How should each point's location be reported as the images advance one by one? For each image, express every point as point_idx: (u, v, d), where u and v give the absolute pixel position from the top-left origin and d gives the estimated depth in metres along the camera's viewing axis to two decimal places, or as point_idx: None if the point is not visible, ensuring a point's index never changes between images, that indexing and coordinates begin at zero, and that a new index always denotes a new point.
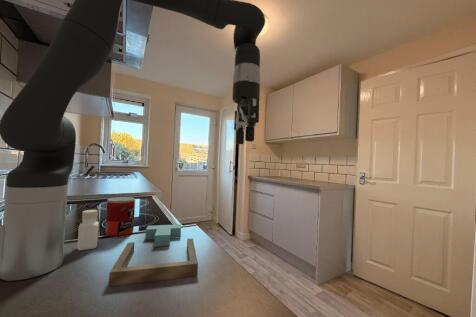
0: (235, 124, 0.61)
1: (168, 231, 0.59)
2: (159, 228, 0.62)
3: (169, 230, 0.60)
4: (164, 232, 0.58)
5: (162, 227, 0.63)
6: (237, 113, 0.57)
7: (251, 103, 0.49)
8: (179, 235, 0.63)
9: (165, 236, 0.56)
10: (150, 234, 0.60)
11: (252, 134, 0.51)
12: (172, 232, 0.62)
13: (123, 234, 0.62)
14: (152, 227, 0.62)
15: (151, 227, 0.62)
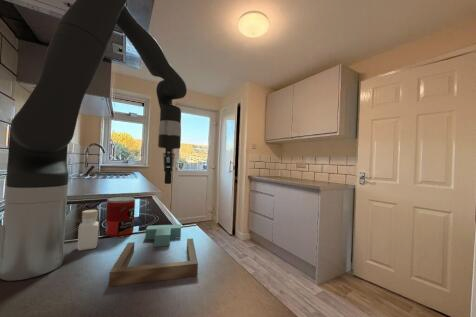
0: None
1: (168, 231, 0.59)
2: (159, 228, 0.62)
3: (169, 230, 0.60)
4: (164, 232, 0.58)
5: (162, 227, 0.63)
6: None
7: (165, 161, 0.67)
8: (179, 235, 0.63)
9: (165, 236, 0.56)
10: (150, 234, 0.60)
11: (169, 179, 0.71)
12: (172, 232, 0.62)
13: (123, 234, 0.62)
14: (152, 227, 0.62)
15: (151, 227, 0.62)
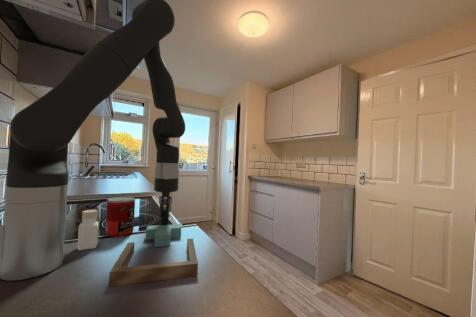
0: None
1: (168, 231, 0.59)
2: (159, 228, 0.61)
3: (169, 230, 0.60)
4: (164, 232, 0.58)
5: (162, 227, 0.63)
6: None
7: (161, 209, 0.62)
8: (179, 235, 0.63)
9: (165, 236, 0.56)
10: (151, 234, 0.60)
11: None
12: (172, 232, 0.62)
13: (123, 234, 0.62)
14: (152, 227, 0.62)
15: (151, 227, 0.62)
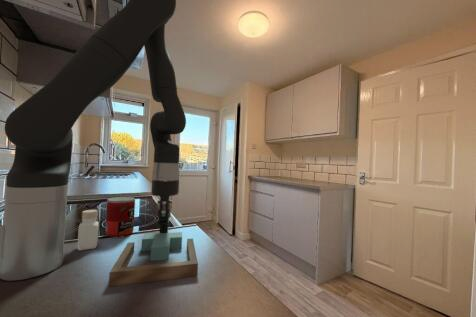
0: None
1: (167, 241, 0.52)
2: (157, 237, 0.54)
3: (168, 240, 0.52)
4: (162, 242, 0.51)
5: (160, 236, 0.55)
6: None
7: (160, 216, 0.54)
8: (180, 245, 0.55)
9: (163, 248, 0.48)
10: (147, 244, 0.53)
11: None
12: (172, 242, 0.54)
13: (123, 234, 0.62)
14: (149, 236, 0.55)
15: (148, 236, 0.55)
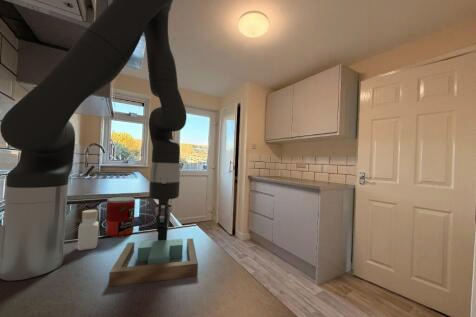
0: None
1: (166, 250, 0.46)
2: (155, 246, 0.48)
3: (167, 249, 0.47)
4: (161, 252, 0.45)
5: (158, 243, 0.50)
6: None
7: (158, 222, 0.49)
8: (180, 254, 0.50)
9: (162, 259, 0.43)
10: (144, 253, 0.47)
11: None
12: (171, 250, 0.49)
13: (123, 234, 0.62)
14: (146, 244, 0.49)
15: (145, 244, 0.49)
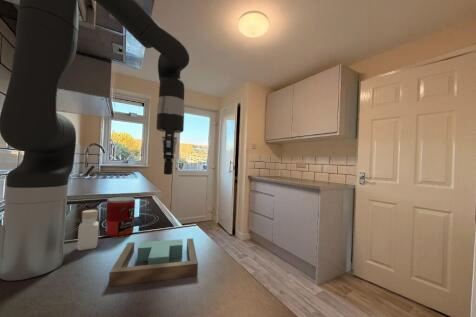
0: None
1: (166, 250, 0.46)
2: (155, 246, 0.48)
3: (167, 249, 0.47)
4: (161, 252, 0.45)
5: (158, 244, 0.50)
6: None
7: (165, 146, 0.54)
8: (180, 254, 0.50)
9: (162, 259, 0.43)
10: (144, 254, 0.47)
11: (169, 168, 0.58)
12: (171, 251, 0.49)
13: (123, 234, 0.62)
14: (146, 244, 0.49)
15: (145, 244, 0.49)
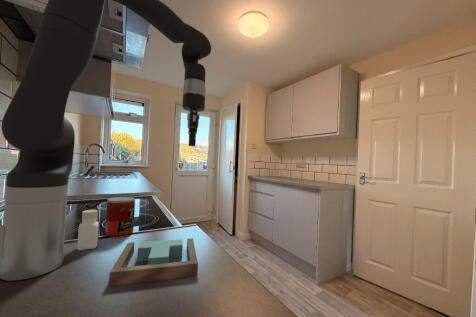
0: None
1: (166, 250, 0.46)
2: (155, 246, 0.48)
3: (167, 249, 0.47)
4: (161, 252, 0.45)
5: (158, 244, 0.50)
6: (187, 117, 0.70)
7: (191, 120, 0.64)
8: (180, 254, 0.50)
9: (162, 259, 0.43)
10: (144, 254, 0.47)
11: (193, 140, 0.68)
12: (171, 251, 0.49)
13: (123, 234, 0.62)
14: (146, 244, 0.49)
15: (145, 244, 0.49)
